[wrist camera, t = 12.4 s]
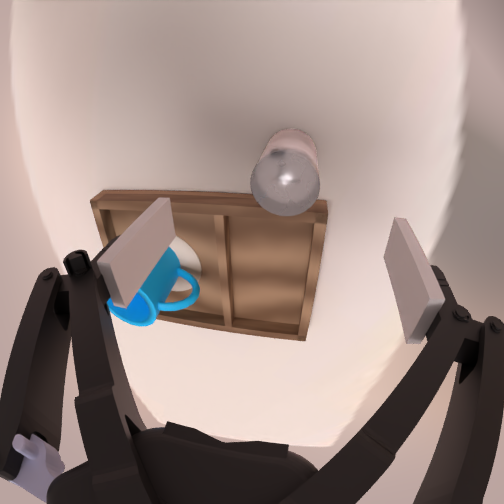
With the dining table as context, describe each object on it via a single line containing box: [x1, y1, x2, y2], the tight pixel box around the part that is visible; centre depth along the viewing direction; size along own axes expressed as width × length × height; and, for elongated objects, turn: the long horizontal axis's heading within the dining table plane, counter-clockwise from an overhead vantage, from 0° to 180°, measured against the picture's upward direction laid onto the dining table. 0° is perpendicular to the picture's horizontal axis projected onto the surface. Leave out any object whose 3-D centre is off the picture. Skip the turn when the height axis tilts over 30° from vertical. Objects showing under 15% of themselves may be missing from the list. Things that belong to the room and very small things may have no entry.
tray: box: [90, 190, 328, 341], centre depth 36 cm, size 20×28×3 cm
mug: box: [107, 247, 200, 326], centre depth 34 cm, size 12×8×8 cm
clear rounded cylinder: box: [251, 128, 320, 216], centre depth 24 cm, size 5×5×9 cm
